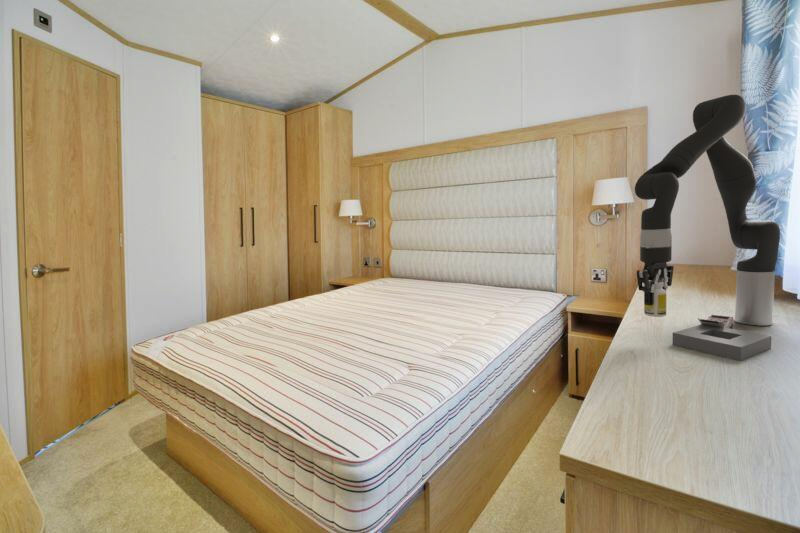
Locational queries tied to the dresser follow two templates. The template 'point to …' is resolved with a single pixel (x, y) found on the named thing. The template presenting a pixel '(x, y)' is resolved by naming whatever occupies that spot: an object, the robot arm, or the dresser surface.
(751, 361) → the dresser surface
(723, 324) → the mobile phone
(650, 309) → the supplement bottle
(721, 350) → the socket block
